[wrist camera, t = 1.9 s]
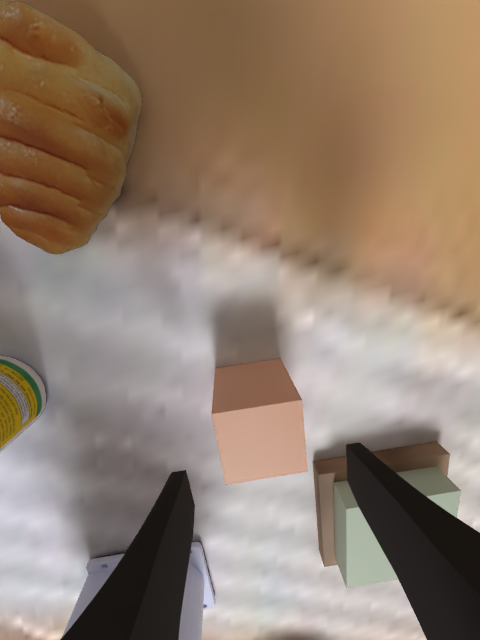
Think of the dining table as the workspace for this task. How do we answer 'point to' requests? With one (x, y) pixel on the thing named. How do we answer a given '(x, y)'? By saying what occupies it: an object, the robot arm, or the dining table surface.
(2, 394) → the supplement bottle
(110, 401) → the dining table surface
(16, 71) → the pastry
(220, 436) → the terracotta block
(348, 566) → the tower top
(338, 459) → the tower base
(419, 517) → the robot arm
